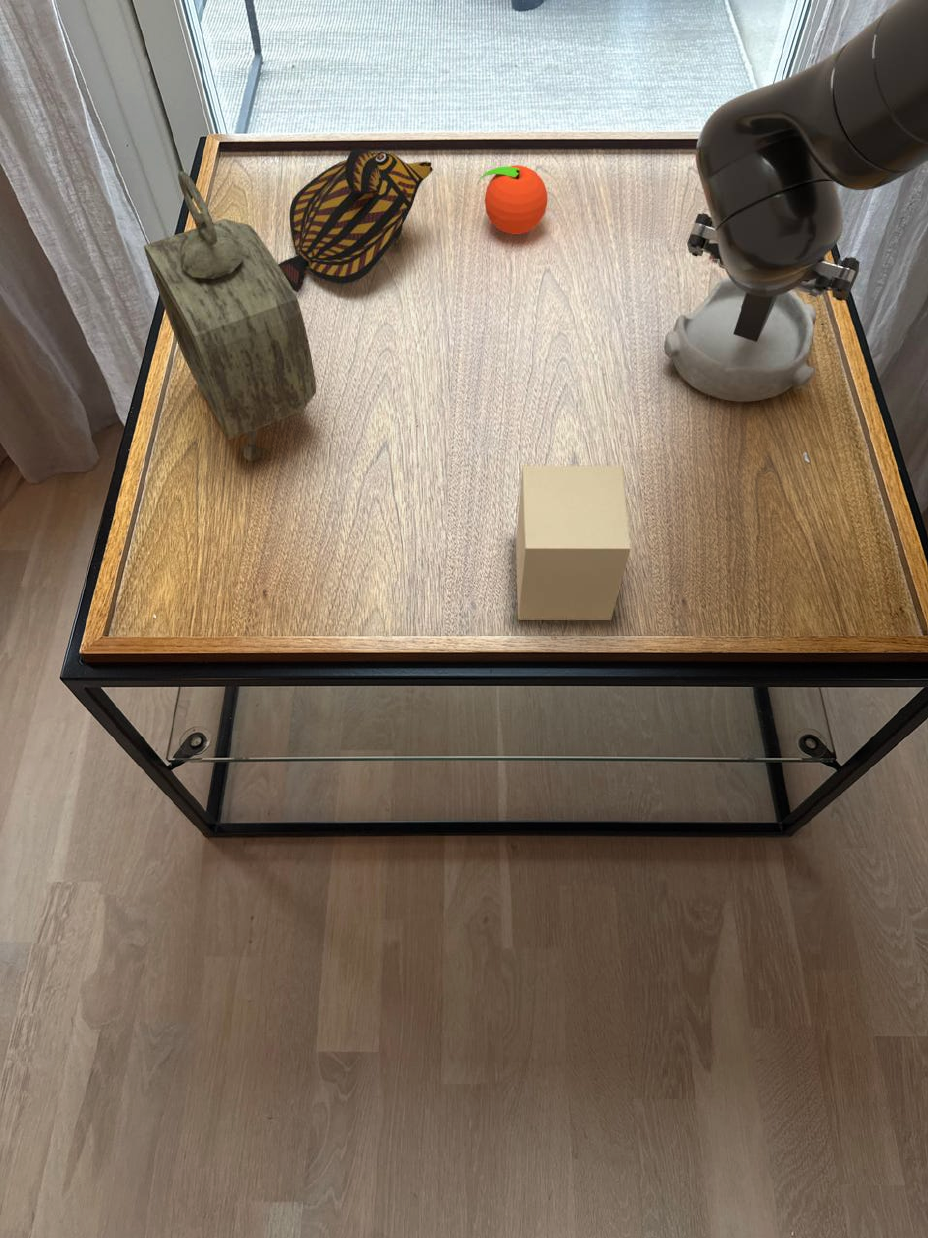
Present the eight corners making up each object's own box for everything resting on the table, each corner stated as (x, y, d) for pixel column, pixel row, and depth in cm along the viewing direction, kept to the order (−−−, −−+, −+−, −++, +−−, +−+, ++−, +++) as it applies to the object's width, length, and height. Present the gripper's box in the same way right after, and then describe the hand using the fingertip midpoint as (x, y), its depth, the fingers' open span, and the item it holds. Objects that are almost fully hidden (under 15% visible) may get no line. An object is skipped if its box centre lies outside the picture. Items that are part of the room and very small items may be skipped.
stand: (604, 543, 83) (622, 465, 73) (611, 620, 79) (631, 548, 69) (515, 543, 83) (522, 465, 73) (518, 620, 79) (525, 548, 69)
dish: (649, 383, 92) (658, 346, 88) (691, 296, 99) (701, 257, 94) (790, 429, 89) (807, 392, 85) (824, 336, 96) (841, 297, 91)
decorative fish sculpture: (406, 309, 98) (399, 214, 88) (265, 284, 100) (242, 187, 90) (440, 225, 104) (438, 127, 94) (307, 203, 106) (291, 105, 96)
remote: (772, 309, 91) (797, 240, 84) (756, 342, 88) (781, 274, 81) (747, 301, 91) (770, 232, 84) (731, 333, 89) (753, 265, 82)
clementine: (468, 239, 103) (468, 182, 97) (484, 201, 107) (485, 143, 100) (537, 252, 102) (541, 195, 96) (551, 213, 105) (556, 155, 99)
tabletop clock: (190, 379, 93) (106, 146, 71) (273, 348, 95) (216, 113, 73) (244, 479, 87) (170, 257, 65) (331, 444, 89) (288, 217, 67)
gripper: (886, 213, 67) (866, 251, 82) (700, 160, 70) (714, 206, 85) (841, 316, 69) (830, 335, 84) (663, 260, 73) (683, 288, 88)
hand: (772, 270), depth 85 cm, fingers open, 8 cm apart
